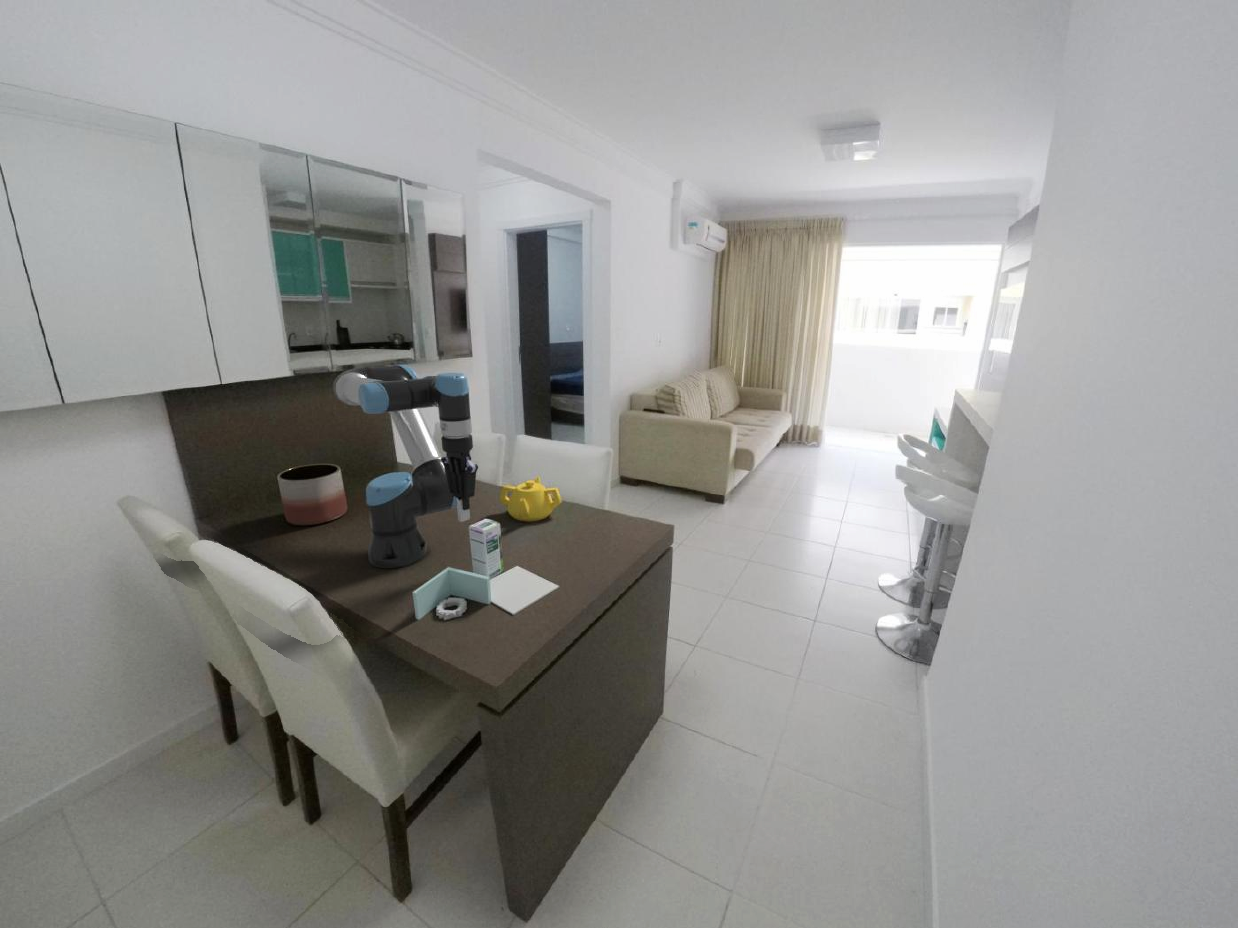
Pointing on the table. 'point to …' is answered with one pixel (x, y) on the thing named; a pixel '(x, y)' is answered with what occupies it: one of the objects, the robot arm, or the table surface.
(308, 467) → the planter
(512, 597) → the mat
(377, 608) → the table surface
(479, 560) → the syrup box
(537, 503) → the teapot
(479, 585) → the l-shaped corner panel
